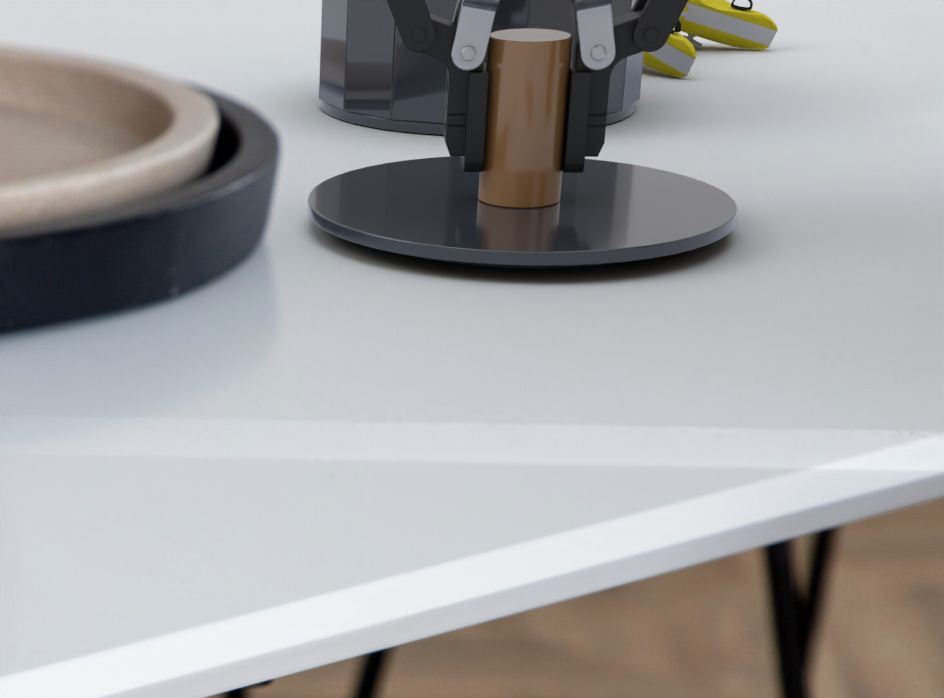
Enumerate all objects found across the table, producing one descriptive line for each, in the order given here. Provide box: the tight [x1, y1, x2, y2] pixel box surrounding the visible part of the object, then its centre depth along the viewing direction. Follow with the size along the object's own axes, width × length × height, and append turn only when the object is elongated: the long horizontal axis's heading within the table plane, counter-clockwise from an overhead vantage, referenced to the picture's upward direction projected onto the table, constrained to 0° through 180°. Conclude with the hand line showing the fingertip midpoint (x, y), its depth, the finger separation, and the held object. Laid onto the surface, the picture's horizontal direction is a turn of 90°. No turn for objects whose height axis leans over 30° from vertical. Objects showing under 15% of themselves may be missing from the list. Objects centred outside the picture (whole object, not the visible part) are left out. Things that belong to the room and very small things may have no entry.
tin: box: [318, 0, 644, 136], centre depth 105 cm, size 15×15×8 cm
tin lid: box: [306, 28, 738, 270], centre depth 84 cm, size 16×16×7 cm
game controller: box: [643, 0, 778, 78], centre depth 116 cm, size 10×6×4 cm, turn 139°
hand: (521, 166), depth 84 cm, fingers closed on tin lid, 3 cm apart
